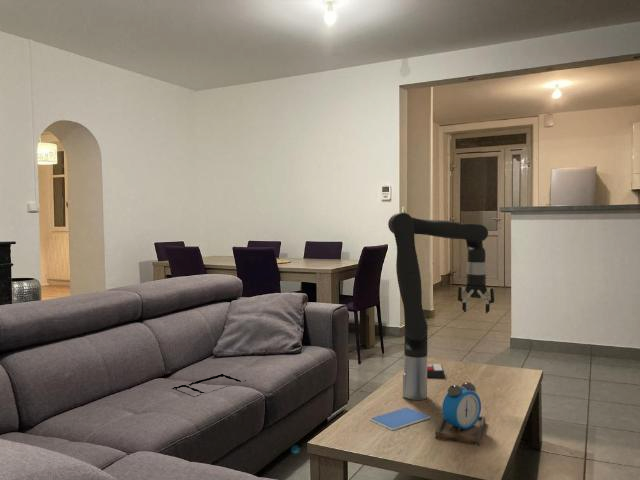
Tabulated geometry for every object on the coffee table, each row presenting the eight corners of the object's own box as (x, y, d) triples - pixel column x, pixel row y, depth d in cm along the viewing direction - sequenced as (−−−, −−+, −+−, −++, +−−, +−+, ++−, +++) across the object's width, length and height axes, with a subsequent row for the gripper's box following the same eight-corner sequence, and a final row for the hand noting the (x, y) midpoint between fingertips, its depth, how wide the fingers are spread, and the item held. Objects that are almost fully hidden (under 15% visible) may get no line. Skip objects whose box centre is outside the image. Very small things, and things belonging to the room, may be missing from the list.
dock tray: (435, 438, 177) (435, 431, 176) (445, 417, 195) (445, 411, 195) (479, 445, 171) (479, 438, 171) (485, 423, 190) (485, 416, 190)
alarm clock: (454, 434, 177) (454, 389, 176) (441, 427, 182) (441, 384, 182) (481, 426, 184) (482, 383, 183) (467, 420, 189) (468, 378, 188)
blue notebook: (392, 432, 183) (392, 429, 183) (368, 421, 193) (368, 417, 193) (431, 420, 194) (431, 416, 194) (406, 409, 204) (406, 406, 204)
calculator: (409, 363, 255) (441, 362, 253) (410, 372, 255) (442, 371, 253) (410, 369, 244) (443, 369, 242) (410, 379, 244) (444, 378, 242)
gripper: (495, 272, 218) (494, 312, 219) (459, 271, 224) (459, 309, 225) (493, 274, 212) (493, 315, 212) (457, 273, 217) (456, 312, 218)
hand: (475, 312), depth 218 cm, fingers open, 8 cm apart
